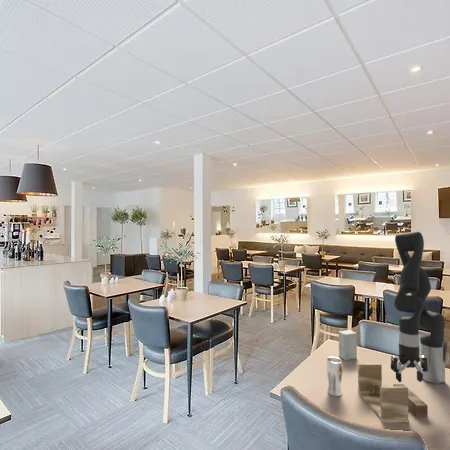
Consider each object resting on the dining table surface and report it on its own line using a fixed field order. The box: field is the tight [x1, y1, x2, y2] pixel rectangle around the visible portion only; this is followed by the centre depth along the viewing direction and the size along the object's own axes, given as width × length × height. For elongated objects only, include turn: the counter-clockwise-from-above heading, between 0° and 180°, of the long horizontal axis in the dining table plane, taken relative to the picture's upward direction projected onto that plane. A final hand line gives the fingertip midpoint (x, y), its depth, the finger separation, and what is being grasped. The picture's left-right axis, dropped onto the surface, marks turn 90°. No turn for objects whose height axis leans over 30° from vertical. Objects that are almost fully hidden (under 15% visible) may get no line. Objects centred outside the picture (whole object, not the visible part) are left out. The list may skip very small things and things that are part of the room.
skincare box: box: [338, 329, 358, 361], centre depth 173 cm, size 8×6×15 cm
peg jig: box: [357, 362, 410, 424], centre depth 127 cm, size 22×10×13 cm, turn 0°
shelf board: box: [392, 383, 429, 418], centre depth 127 cm, size 16×4×5 cm, turn 1°
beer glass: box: [326, 356, 344, 397], centre depth 137 cm, size 7×7×15 cm
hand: (409, 381), depth 127 cm, fingers open, 8 cm apart
